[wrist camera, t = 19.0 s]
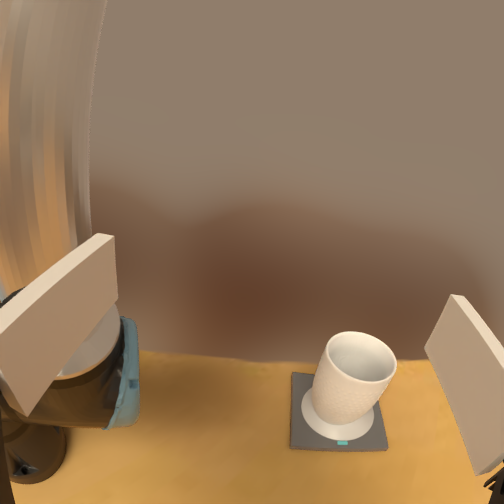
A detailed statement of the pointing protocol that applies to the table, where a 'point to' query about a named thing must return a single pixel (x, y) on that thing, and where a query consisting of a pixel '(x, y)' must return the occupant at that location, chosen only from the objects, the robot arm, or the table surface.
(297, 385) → the kitchen scale
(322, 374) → the mug
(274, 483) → the table surface
